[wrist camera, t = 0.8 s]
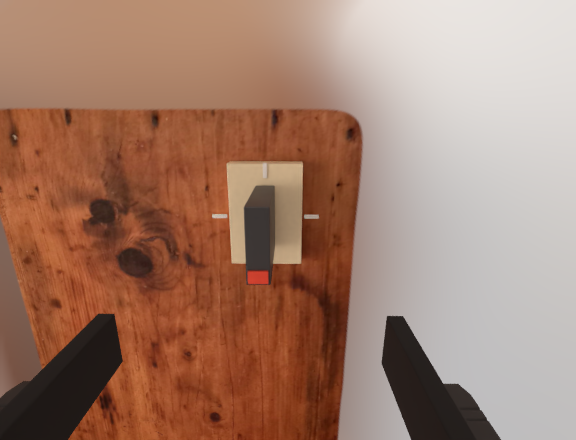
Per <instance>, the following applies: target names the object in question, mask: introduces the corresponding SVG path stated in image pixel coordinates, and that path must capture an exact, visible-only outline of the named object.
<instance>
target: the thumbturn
mask: <svg viewBox="0 0 576 440" xmlns="http://www.w3.org/2000/svg"><path fill="white" fill-rule="evenodd" d="M244 230H245V257H246V283H247V285H270V284H271V277H272V268H273V260H274V251H275V186H257V185H256V186H255V188H254V190H253V191H252V193H251V195H250V197H249V199H248V200H247V202H246V204H245V206H244Z"/></svg>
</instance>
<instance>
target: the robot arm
mask: <svg viewBox="0 0 576 440" xmlns="http://www.w3.org/2000/svg"><path fill="white" fill-rule="evenodd" d="M122 362H123V360H122V355H121V349H120V343H119V338H118V332H117V327H116V321H115V315H114V314H98V315H97V316H96V317H95V318H94V319H93V320H92V321H91V322H90V323H89V324H88V325H87V326H86V327H85V328H84V329H83V330H82V331H81V332H80V333H79V334H78V335H77V336H76V337H75V338H74V339H73V340H72V341H71V342H70V343H69V344H68V345H67V346H66V347H65V348H64V349H62V350H61V351H60V352H59V353H58V354H57V355H56V356H55V357H54V358H53V359H52V360H51V361H50V362H49V363H48V364H47V365H46V366H45V367H44V368H43V369H42V370H41V371H40V372H39V373H38V375H36V376H35V377H34V378H33V379H32V380H31V381H23V382H22V383H20V384H18V385H17V386H15V387H14V388H12V389H11V390H9V391H8V392H6V393H5V394H4V395H3V396H2V397H1V398H0V440H68V438H69V437H70V436H71V434H72V433H73V431H74V430H75V428H76V427H77V426H78V424H79V423H80V421H81V420H82V418H83V417H84V416H85V414H86V413H87V411H88V410H89V408H90V407H91V406H92V404H93V403H94V401H95V400H96V399H97V397H98V396H99V394H100V393H101V391H102V390H103V389H104V387H105V386H106V384H107V383H108V381H109V380H110V379H111V377H112V376H113V374H114V373H115V372H116V370H117V369H118V367H119V366H120V364H121V363H122ZM382 365H383V368H384V371H385V373H386V376H387V378H388V381H389V383H390V386H391V389H392V391H393V394H394V396H395V399H396V402H397V404H398V407H399V409H400V412H401V414H402V417H403V419H404V422H405V425H406V427H407V430H408V432H409V435H410V437H411V440H501V439H500V437H499V436H498V434H497V433H496V432H495V430H494V429H493V427H492V426H491V424H490V423H489V422H488V421H487V418H486V417H485V415H484V414H483V412H482V411H481V410H480V408H479V407H478V405H477V403H476V402H475V400H474V399H473V397H472V396H471V395H470V394H469V393H468V392H467V391H466V390H464V389H463V388H462V387H461V386H460V385H459V384H443V383H442V381H441V379H440V378H439V376H438V375H437V373H436V371H435V369H434V368H433V366H432V364H431V363H430V361H429V359H428V358H427V356H426V354H425V353H424V351H423V350H422V347H421V346H420V344H419V342H418V341H417V339H416V338H415V336H414V334H413V332H412V331H411V329H410V327H409V326H408V324H407V322H406V321H405V319H404V317H403V316H387V321H386V330H385V339H384V347H383V357H382Z"/></svg>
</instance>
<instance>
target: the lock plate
mask: <svg viewBox="0 0 576 440" xmlns="http://www.w3.org/2000/svg"><path fill="white" fill-rule="evenodd" d="M227 180H228V199H229V218H230V238H231V257H232V263H246V257H245V230H244V206H245V204H246V202H247V200H248V199H249V197H250V195H251V193H252V191H253V190H254V188H255V186H256V185H257V186H275V251H274V260H273V264H301V247H302V192H303V163H302V161H230V162H229V163H227ZM212 218H227V214H212ZM304 219H319V215H304Z"/></svg>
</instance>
